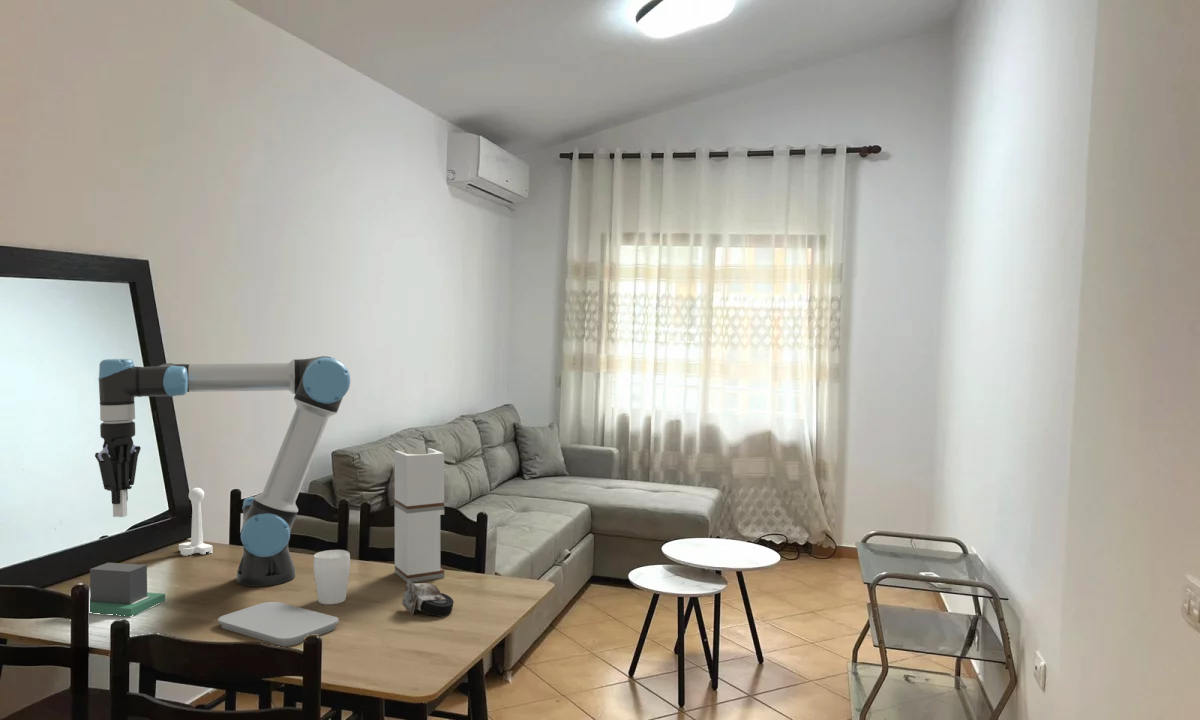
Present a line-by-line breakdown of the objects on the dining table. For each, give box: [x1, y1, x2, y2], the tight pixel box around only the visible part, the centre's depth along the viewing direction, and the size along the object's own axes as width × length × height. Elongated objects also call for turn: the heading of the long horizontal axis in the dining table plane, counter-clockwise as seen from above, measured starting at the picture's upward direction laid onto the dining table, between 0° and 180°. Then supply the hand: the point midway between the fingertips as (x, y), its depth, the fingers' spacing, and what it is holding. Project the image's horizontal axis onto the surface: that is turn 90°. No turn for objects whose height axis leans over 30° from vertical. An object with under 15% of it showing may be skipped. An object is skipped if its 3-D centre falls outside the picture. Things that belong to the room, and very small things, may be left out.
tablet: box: [217, 601, 339, 647], centre depth 200 cm, size 16×26×2 cm, turn 59°
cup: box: [312, 549, 351, 605], centre depth 219 cm, size 9×9×12 cm
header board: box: [90, 591, 166, 617], centre depth 213 cm, size 16×12×6 cm
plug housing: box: [89, 562, 148, 604], centre depth 213 cm, size 11×6×8 cm, turn 80°
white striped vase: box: [394, 447, 445, 583], centre depth 242 cm, size 11×11×35 cm
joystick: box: [178, 487, 213, 557], centre depth 264 cm, size 11×8×20 cm
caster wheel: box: [401, 579, 455, 617], centre depth 212 cm, size 7×11×10 cm
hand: (120, 516), depth 213 cm, fingers closed
